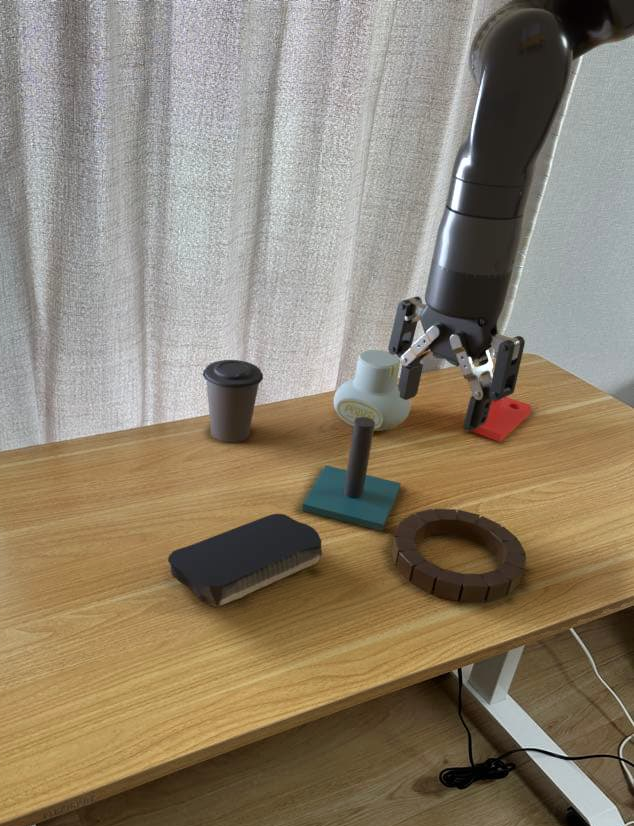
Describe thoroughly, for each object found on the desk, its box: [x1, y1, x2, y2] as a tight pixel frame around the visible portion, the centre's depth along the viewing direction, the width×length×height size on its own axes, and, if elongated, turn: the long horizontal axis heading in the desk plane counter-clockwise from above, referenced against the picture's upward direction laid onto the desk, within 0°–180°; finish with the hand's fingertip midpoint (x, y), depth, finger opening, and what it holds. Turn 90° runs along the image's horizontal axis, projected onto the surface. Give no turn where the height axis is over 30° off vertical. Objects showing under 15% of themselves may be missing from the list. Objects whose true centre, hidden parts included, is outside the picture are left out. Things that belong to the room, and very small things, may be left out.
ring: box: [390, 508, 527, 603], centre depth 91 cm, size 14×14×2 cm
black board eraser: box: [167, 513, 323, 607], centre depth 87 cm, size 16×8×4 cm, turn 126°
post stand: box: [301, 417, 402, 532], centre depth 97 cm, size 10×10×11 cm
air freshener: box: [333, 349, 412, 432], centre depth 114 cm, size 11×8×10 cm
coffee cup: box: [202, 359, 264, 443], centre depth 110 cm, size 8×8×10 cm
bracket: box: [470, 396, 533, 443], centre depth 117 cm, size 12×4×8 cm, turn 141°
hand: (438, 412), depth 86 cm, fingers open, 8 cm apart
